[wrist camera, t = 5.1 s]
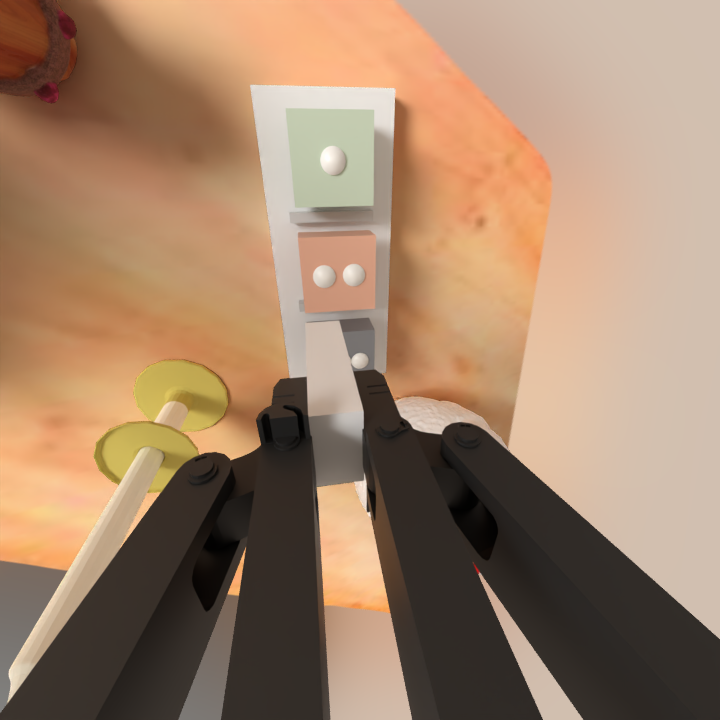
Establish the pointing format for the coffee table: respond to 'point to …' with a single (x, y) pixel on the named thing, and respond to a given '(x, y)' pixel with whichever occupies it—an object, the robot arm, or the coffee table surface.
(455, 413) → the white rounded lump
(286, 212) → the board
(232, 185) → the coffee table surface
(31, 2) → the mug
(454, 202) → the coffee table surface
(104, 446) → the candle
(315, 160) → the tile sage
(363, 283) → the tile terracotta
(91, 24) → the coffee table surface
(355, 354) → the tile charcoal
